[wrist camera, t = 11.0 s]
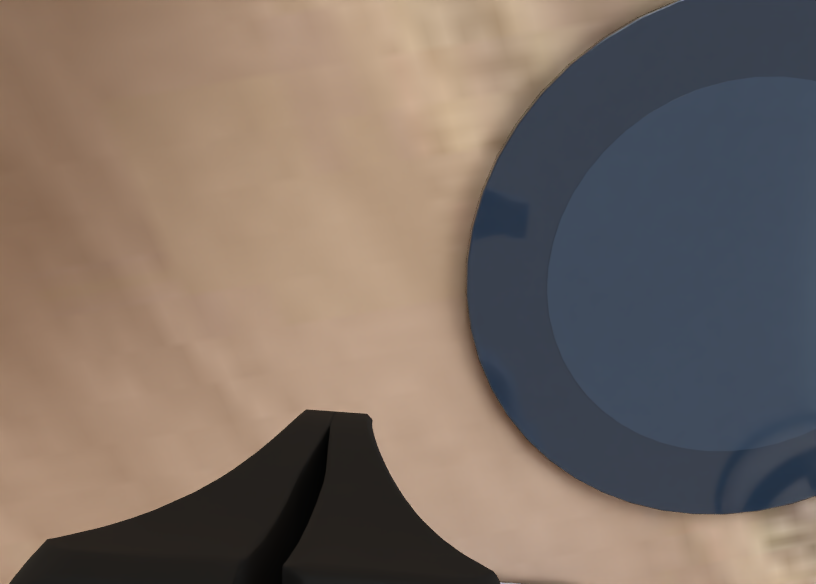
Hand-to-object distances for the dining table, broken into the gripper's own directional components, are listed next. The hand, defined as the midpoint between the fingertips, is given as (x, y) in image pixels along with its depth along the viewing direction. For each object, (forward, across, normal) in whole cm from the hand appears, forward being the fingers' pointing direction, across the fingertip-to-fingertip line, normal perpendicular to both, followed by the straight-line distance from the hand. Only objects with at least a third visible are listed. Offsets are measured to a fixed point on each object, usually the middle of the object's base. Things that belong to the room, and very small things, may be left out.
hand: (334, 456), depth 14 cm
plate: (+9, -12, -2) cm, 15 cm away
